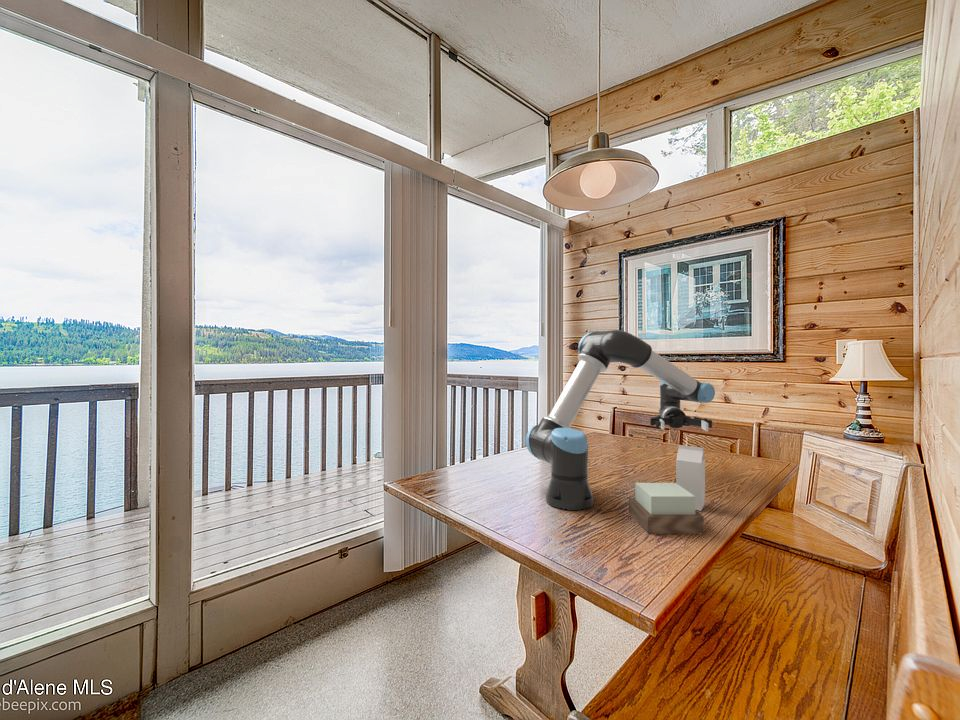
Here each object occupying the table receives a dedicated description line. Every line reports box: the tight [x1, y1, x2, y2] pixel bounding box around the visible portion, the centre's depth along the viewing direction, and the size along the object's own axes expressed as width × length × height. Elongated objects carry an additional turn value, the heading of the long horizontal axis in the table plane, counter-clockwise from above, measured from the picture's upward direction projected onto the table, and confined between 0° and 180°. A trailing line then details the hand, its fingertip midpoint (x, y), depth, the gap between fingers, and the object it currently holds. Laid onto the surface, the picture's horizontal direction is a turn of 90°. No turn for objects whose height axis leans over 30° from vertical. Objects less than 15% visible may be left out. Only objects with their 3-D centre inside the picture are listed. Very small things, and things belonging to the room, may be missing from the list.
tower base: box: [628, 496, 705, 534], centre depth 119 cm, size 15×15×5 cm
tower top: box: [634, 482, 696, 515], centre depth 119 cm, size 12×12×5 cm
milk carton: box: [675, 444, 706, 512], centre depth 131 cm, size 7×7×19 cm
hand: (684, 426), depth 140 cm, fingers open, 13 cm apart
